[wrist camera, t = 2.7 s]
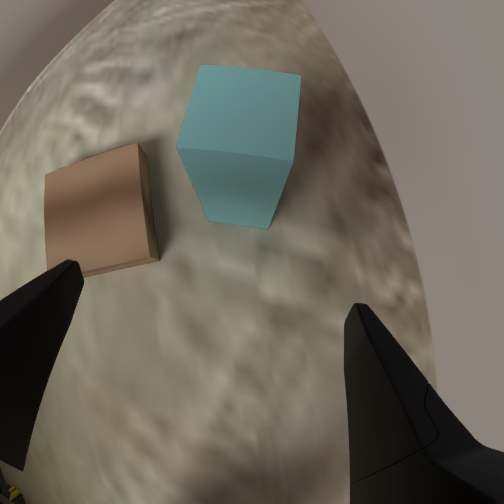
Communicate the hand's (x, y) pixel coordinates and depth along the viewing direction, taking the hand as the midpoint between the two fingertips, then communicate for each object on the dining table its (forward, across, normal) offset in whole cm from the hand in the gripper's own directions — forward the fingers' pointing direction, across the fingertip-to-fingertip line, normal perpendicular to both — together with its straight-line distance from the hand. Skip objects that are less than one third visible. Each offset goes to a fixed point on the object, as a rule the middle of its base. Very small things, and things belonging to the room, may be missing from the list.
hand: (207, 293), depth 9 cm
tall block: (+14, 0, +4) cm, 15 cm away
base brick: (+12, +11, +6) cm, 18 cm away
